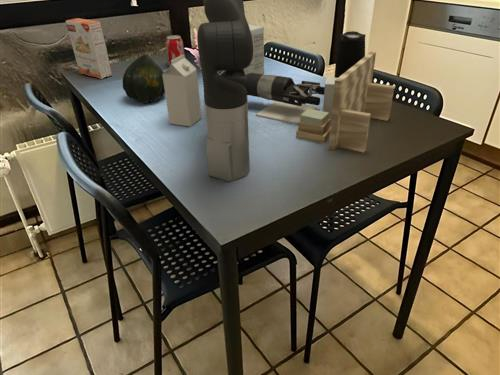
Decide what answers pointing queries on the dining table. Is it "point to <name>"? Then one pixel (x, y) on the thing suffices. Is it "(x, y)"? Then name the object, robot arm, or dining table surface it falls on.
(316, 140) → the pine offcut
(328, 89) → the skincare box
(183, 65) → the milk carton
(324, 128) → the oak offcut
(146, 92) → the squash
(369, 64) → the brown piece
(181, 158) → the dining table surface
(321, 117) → the sage offcut
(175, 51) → the soda can
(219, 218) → the dining table surface
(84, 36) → the cracker box
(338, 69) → the portable speaker
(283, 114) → the beige mat
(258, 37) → the supplement box
